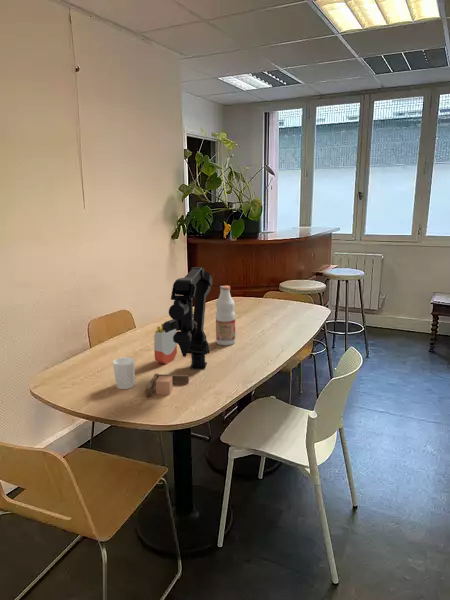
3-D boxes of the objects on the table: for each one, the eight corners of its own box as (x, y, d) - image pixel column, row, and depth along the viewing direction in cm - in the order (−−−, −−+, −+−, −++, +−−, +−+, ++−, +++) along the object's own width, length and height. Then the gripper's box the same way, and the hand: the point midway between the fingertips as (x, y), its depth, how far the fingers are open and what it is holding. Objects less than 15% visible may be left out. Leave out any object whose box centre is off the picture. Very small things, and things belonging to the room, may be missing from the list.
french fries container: (154, 364, 189) (152, 324, 185) (168, 356, 198) (166, 317, 194) (163, 366, 187) (161, 325, 183) (177, 357, 196) (175, 318, 192)
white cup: (137, 381, 172) (136, 357, 170) (134, 389, 165) (132, 364, 162) (117, 381, 172) (115, 357, 170) (112, 390, 164) (111, 365, 162)
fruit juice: (212, 341, 217) (211, 286, 211) (228, 338, 222) (227, 283, 216) (222, 347, 209) (222, 289, 203) (239, 343, 215) (238, 286, 208)
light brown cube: (159, 388, 166) (159, 375, 165) (172, 388, 165) (172, 376, 164) (156, 394, 161) (155, 381, 160) (170, 394, 161) (169, 381, 159)
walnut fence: (155, 380, 172) (155, 373, 172) (189, 381, 171) (188, 374, 170) (146, 396, 159) (145, 389, 158) (182, 397, 158) (182, 390, 157)
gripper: (169, 306, 174) (170, 344, 178) (158, 319, 156) (160, 360, 160) (196, 306, 174) (197, 344, 177) (189, 319, 155) (190, 361, 159)
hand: (186, 352), depth 168 cm, fingers open, 9 cm apart
